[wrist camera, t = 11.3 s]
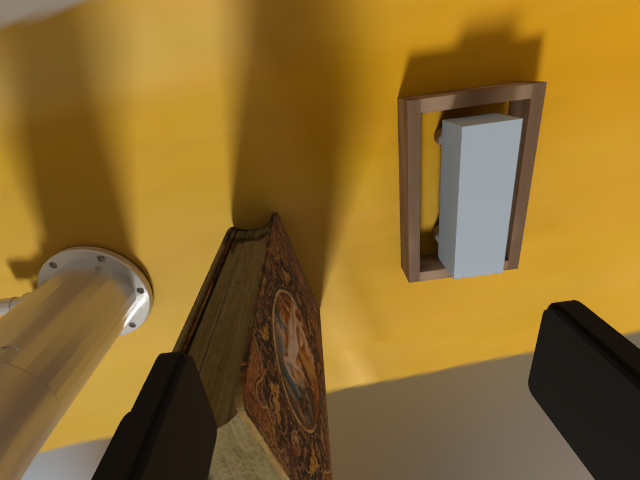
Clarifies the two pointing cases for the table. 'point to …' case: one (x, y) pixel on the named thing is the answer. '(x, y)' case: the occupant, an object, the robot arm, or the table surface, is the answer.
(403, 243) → the frame
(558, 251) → the table surface
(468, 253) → the grey rectangular block
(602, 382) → the robot arm
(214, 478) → the book
